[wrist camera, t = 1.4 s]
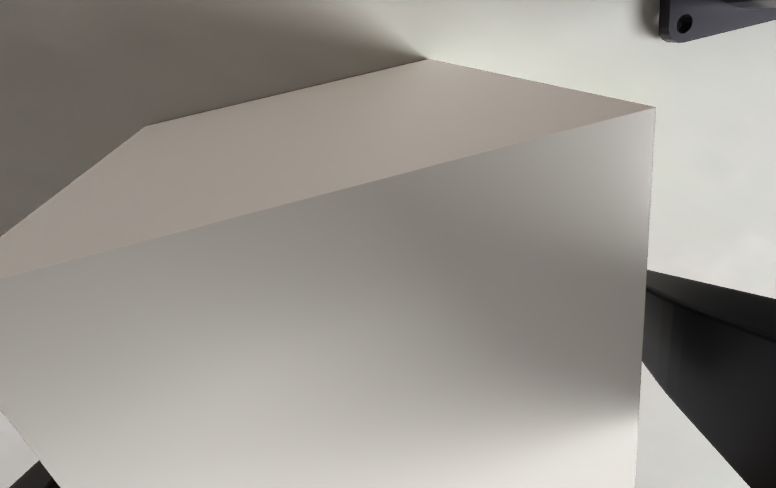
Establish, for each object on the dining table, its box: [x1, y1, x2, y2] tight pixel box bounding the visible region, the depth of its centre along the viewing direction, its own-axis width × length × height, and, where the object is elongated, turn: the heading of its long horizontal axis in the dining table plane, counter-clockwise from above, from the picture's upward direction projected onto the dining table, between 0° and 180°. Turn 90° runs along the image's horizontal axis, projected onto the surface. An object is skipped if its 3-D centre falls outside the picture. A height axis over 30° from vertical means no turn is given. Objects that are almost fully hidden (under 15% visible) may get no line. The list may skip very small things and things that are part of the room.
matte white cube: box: [0, 59, 656, 488], centre depth 10 cm, size 8×8×9 cm
